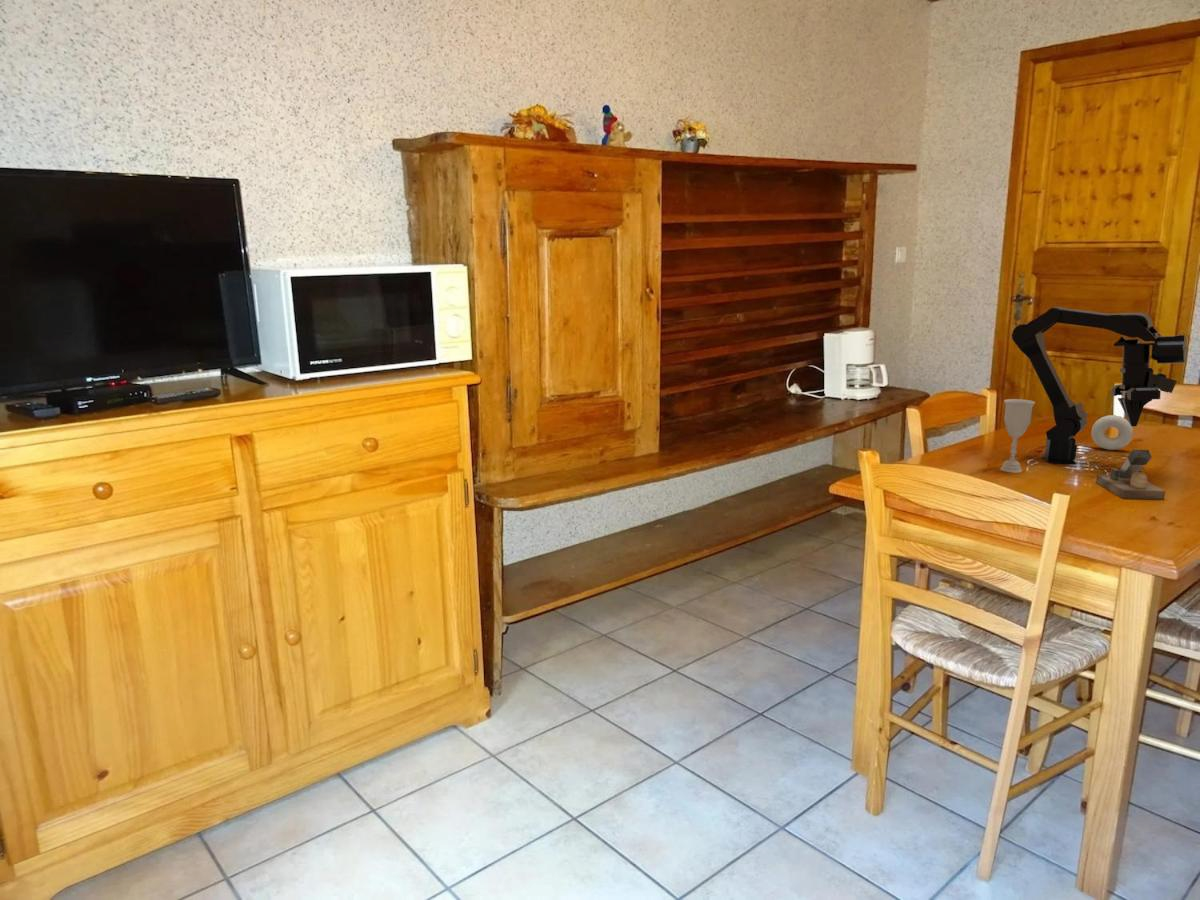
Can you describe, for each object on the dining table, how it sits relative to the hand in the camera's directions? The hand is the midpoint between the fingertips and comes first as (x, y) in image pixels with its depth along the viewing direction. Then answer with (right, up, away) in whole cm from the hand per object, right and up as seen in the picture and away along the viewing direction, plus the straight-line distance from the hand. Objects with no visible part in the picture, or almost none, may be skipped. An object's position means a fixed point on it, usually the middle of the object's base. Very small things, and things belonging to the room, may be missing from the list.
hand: (1133, 426), depth 210 cm
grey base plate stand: (-9, -16, -12) cm, 22 cm away
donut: (+10, -6, +26) cm, 28 cm away
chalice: (-28, -11, +6) cm, 31 cm away
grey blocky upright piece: (-9, -12, -10) cm, 18 cm away
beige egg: (-9, -15, -16) cm, 23 cm away
